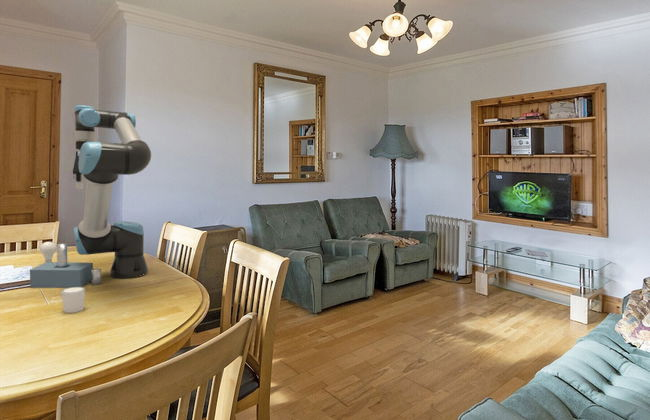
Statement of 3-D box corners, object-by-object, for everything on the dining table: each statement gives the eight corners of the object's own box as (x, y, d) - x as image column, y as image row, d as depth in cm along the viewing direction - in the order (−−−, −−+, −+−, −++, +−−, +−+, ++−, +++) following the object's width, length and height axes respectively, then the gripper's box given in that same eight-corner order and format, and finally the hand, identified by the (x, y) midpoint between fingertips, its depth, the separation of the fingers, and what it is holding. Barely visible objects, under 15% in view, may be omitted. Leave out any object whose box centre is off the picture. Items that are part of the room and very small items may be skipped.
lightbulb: (39, 267, 185) (38, 243, 184) (41, 263, 191) (40, 240, 189) (56, 266, 188) (55, 242, 187) (57, 262, 194) (56, 240, 192)
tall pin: (69, 281, 166) (68, 243, 165) (65, 284, 163) (64, 245, 161) (60, 281, 166) (59, 243, 164) (55, 284, 163) (54, 245, 161)
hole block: (93, 278, 172) (92, 262, 171) (80, 287, 160) (79, 270, 159) (46, 278, 169) (46, 262, 168) (30, 287, 157) (29, 269, 157)
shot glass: (79, 304, 142) (79, 285, 142) (89, 309, 138) (88, 289, 138) (57, 309, 137) (57, 289, 136) (67, 315, 133) (66, 294, 132)
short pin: (102, 282, 167) (102, 268, 167) (99, 285, 164) (99, 270, 163) (93, 282, 167) (93, 268, 166) (90, 285, 164) (89, 270, 163)
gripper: (88, 141, 195) (89, 185, 197) (62, 139, 170) (64, 189, 173) (104, 142, 196) (105, 186, 198) (82, 140, 171) (83, 190, 174)
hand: (86, 188), depth 186 cm, fingers open, 13 cm apart
